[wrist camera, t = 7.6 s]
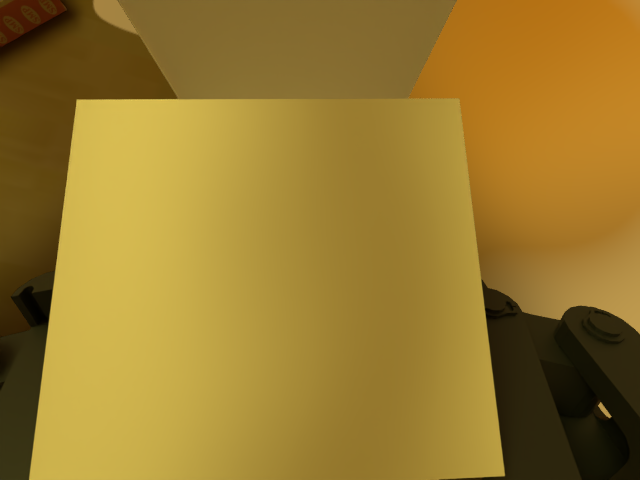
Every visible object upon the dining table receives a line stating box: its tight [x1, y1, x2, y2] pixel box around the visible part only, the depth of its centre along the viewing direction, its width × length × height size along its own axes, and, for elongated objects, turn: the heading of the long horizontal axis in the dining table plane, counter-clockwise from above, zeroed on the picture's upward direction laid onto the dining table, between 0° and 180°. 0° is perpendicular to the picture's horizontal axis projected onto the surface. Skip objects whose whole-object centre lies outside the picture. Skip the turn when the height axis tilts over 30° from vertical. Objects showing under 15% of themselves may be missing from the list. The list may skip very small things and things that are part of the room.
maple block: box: [29, 99, 505, 480], centre depth 10 cm, size 6×5×12 cm
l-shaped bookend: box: [118, 0, 457, 99], centre depth 22 cm, size 16×14×24 cm
